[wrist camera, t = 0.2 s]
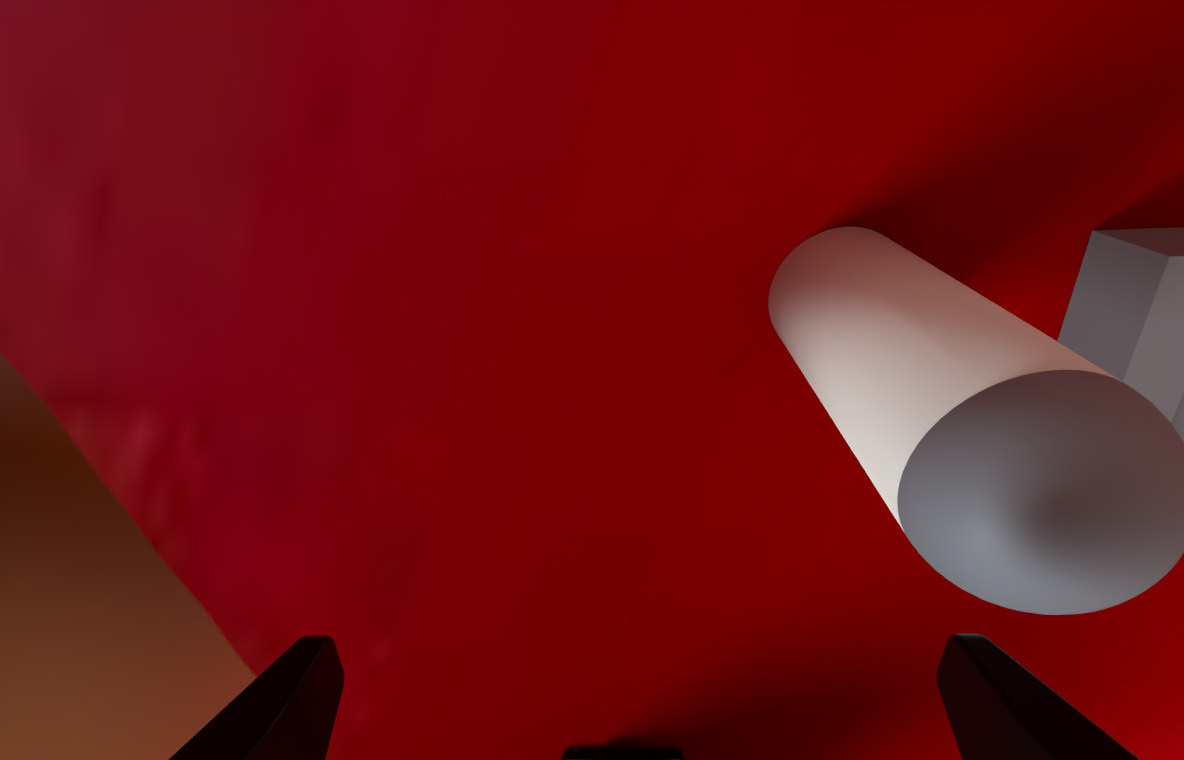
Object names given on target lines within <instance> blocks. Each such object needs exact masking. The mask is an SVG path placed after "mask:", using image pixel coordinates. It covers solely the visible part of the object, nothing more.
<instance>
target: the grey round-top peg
mask: <svg viewBox="0 0 1184 760" xmlns="http://www.w3.org/2000/svg"><path fill="white" fill-rule="evenodd" d="M769 314H770V318H771V322H772V324H773V326H774V328H775V330H776V332H777V333H778V335H779V337H780V338H781V340H782V341H783V343H784V344H785V346H786V348H787V349H788V351H789V352H790V354H791V355H792V357H793V359H794V360H795V362H796V363H797V365H798V366H799V368H800V370H801V371H802V373H803V374H804V376H805V377H806V379H807V380H808V382H809V384H810V385H811V387H812V388H813V390H814V391H815V393H816V395H817V396H818V398H819V399H820V401H821V402H822V404H823V406H824V407H825V409H826V410H827V412H828V413H829V415H830V417H831V418H832V420H833V421H834V423H835V424H836V426H837V428H838V429H839V431H840V432H841V434H842V435H843V437H844V439H845V440H846V442H847V443H848V445H849V446H850V448H851V449H852V451H853V453H854V454H855V456H856V457H857V459H858V460H859V462H860V464H861V465H862V467H863V468H864V470H865V471H866V473H867V475H868V476H869V478H870V479H871V481H872V482H873V484H874V486H875V487H876V489H877V490H878V492H879V493H880V495H881V497H882V498H883V500H884V501H885V503H886V504H887V506H888V507H889V509H890V511H891V512H892V514H893V515H894V517H895V518H896V520H897V522H898V523H899V525H900V526H901V528H902V529H903V531H904V533H905V534H906V536H907V537H908V539H909V540H910V542H911V543H912V545H913V546H914V547H915V549H916V550H917V551H918V553H919V554H920V555H921V556H922V557H923V558H924V559H925V560H926V561H927V562H928V563H929V564H930V565H931V566H932V567H933V568H934V569H935V570H936V571H937V572H939V573H940V574H941V575H943V576H944V577H945V578H946V579H948V580H949V581H951V582H952V583H954V584H955V585H956V586H958V587H960V588H961V589H963V590H965V591H967V592H969V593H971V594H973V595H975V596H977V597H979V598H981V599H983V600H986V601H988V602H991V603H993V604H996V605H1000V606H1003V607H1006V608H1009V609H1013V610H1017V611H1023V612H1030V613H1037V614H1045V615H1065V614H1081V613H1087V612H1093V611H1097V610H1102V609H1105V608H1108V607H1112V606H1115V605H1117V604H1120V603H1122V602H1125V601H1127V600H1129V599H1131V598H1133V597H1135V596H1137V595H1139V594H1140V593H1142V592H1144V591H1145V590H1147V589H1148V588H1150V587H1151V586H1153V585H1154V584H1155V583H1157V582H1158V581H1159V580H1160V579H1161V578H1162V577H1164V576H1165V575H1166V574H1167V573H1168V572H1169V571H1170V570H1171V569H1172V568H1173V566H1174V565H1175V564H1176V563H1177V561H1178V560H1179V559H1180V557H1181V555H1182V554H1183V552H1184V442H1183V441H1182V439H1181V437H1180V436H1179V434H1178V433H1177V431H1176V430H1175V428H1174V427H1173V425H1172V423H1171V422H1170V421H1169V420H1168V419H1167V418H1166V417H1165V416H1164V415H1163V414H1162V413H1161V412H1160V411H1159V410H1158V409H1157V408H1156V407H1155V405H1154V404H1153V403H1152V402H1151V401H1149V400H1148V399H1147V398H1145V397H1144V396H1142V395H1141V394H1140V393H1138V392H1137V391H1136V390H1134V389H1133V388H1131V387H1130V386H1128V385H1127V384H1126V383H1124V382H1122V381H1121V380H1119V379H1117V378H1116V377H1114V376H1112V375H1111V374H1109V373H1108V372H1106V371H1104V370H1103V369H1101V368H1099V367H1098V366H1096V365H1094V364H1093V363H1091V362H1090V361H1088V360H1086V359H1085V358H1083V357H1081V356H1080V355H1078V354H1077V353H1075V352H1073V351H1072V350H1070V349H1068V348H1067V347H1065V346H1063V345H1062V344H1060V343H1059V342H1057V341H1055V340H1054V339H1052V338H1050V337H1049V336H1047V335H1045V334H1044V333H1042V332H1041V331H1039V330H1037V329H1036V328H1034V327H1032V326H1031V325H1029V324H1027V323H1026V322H1024V321H1023V320H1021V319H1019V318H1018V317H1016V316H1014V315H1013V314H1011V313H1010V312H1008V311H1006V310H1005V309H1003V308H1001V307H1000V306H998V305H996V304H995V303H993V302H992V301H990V300H988V299H987V298H985V297H983V296H982V295H980V294H978V293H977V292H975V291H974V290H972V289H970V288H969V287H967V286H965V285H964V284H962V283H961V282H959V281H957V280H956V279H954V278H952V277H951V276H949V275H947V274H946V273H944V272H943V271H941V270H939V269H938V268H936V267H934V266H933V265H931V264H929V263H928V262H926V261H925V260H923V259H921V258H920V257H918V256H916V255H915V254H913V253H911V252H910V251H908V250H907V249H905V248H903V247H902V246H900V245H898V244H897V243H895V242H894V241H892V240H890V239H889V238H887V237H885V236H884V235H882V234H880V233H878V232H876V231H873V230H870V229H867V228H861V227H839V228H834V229H830V230H826V231H824V232H821V233H818V234H816V235H814V236H812V237H810V238H809V239H807V240H805V241H804V242H802V243H801V244H800V245H799V246H797V247H796V248H795V249H794V250H793V251H792V252H791V253H790V254H789V255H788V256H787V257H786V258H785V260H784V261H783V262H782V264H781V265H780V267H779V268H778V270H777V272H776V274H775V276H774V279H773V281H772V284H771V288H770V293H769Z"/></svg>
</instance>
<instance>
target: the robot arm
mask: <svg viewBox="0 0 1184 760" xmlns="http://www.w3.org/2000/svg"><path fill="white" fill-rule="evenodd" d="M937 684H938V688H939V691H940V694H941V697H942V700H943V703H944V706H945V709H946V712H947V715H948V718H949V721H950V724H951V727H952V730H953V733H954V736H955V739H956V742H957V745H958V748H959V751H960V754H961V757H962V760H1140V759H1138V758H1137V757H1136V756H1135V755H1133V754H1132V753H1131V752H1130V751H1128V750H1127V749H1126V748H1124V747H1123V746H1122V745H1121V744H1119V743H1118V742H1117V741H1116V740H1114V739H1113V738H1112V737H1111V736H1109V735H1108V734H1107V733H1106V732H1104V731H1103V730H1102V729H1101V728H1099V727H1098V726H1097V725H1096V724H1094V723H1093V722H1092V721H1091V720H1089V719H1088V718H1087V717H1086V716H1084V715H1083V714H1082V713H1081V712H1079V711H1078V710H1077V709H1076V708H1074V707H1073V706H1072V705H1071V704H1069V703H1068V702H1067V701H1066V700H1064V699H1063V698H1062V697H1061V696H1059V695H1058V694H1057V693H1056V692H1054V691H1053V690H1052V689H1051V688H1049V687H1048V686H1047V685H1046V684H1044V683H1043V682H1042V681H1041V680H1039V679H1038V678H1037V677H1036V676H1034V675H1033V674H1032V673H1031V672H1029V671H1028V670H1027V669H1025V668H1024V667H1023V666H1022V665H1020V664H1019V663H1018V662H1017V661H1015V660H1014V659H1013V658H1012V657H1010V656H1009V655H1008V654H1007V653H1005V652H1004V651H1003V650H1002V649H1000V648H999V647H998V646H997V645H995V644H994V643H993V642H992V641H990V640H989V639H988V638H986V637H984V636H983V635H980V634H953V635H952V636H950V637H949V638H948V640H947V643H946V646H945V649H944V652H943V655H942V658H941V660H940V663H939V666H938V669H937ZM343 686H344V670H343V667H342V664H341V661H340V658H339V655H338V652H337V648H336V645H335V642H334V640H333V639H332V638H331V637H330V636H327V635H309V636H304V637H302V638H300V639H299V640H297V641H296V642H295V643H294V644H293V645H292V646H291V647H290V648H289V649H287V650H286V651H285V652H284V653H283V654H282V655H281V656H280V657H279V658H278V659H277V660H276V661H274V662H273V663H272V664H271V665H270V666H269V667H268V668H267V669H266V670H265V671H264V672H263V673H261V674H260V675H259V676H258V677H257V678H256V679H255V680H254V681H253V682H252V683H251V684H250V685H249V686H247V687H246V688H245V689H244V690H243V691H242V692H241V693H240V694H239V695H238V696H237V697H236V698H234V699H233V700H232V701H231V702H230V703H229V704H228V705H227V706H226V707H225V708H224V709H222V710H221V711H220V712H219V713H218V714H217V715H216V716H215V717H214V718H213V719H212V720H211V721H209V722H208V724H206V725H205V726H204V727H203V728H202V729H201V730H200V731H199V732H198V733H197V734H195V735H194V736H193V737H192V738H191V739H190V740H189V741H188V742H187V743H186V744H185V745H183V746H182V747H181V748H180V749H179V750H178V751H177V752H176V753H175V754H174V755H173V756H172V757H170V758H169V759H168V760H325V757H326V753H327V750H328V746H329V742H330V738H331V734H332V730H333V726H334V722H335V718H336V714H337V710H338V706H339V703H340V699H341V695H342V691H343ZM561 760H684V755H683V754H682V753H681V752H678V751H575V752H565V753H563V754H562V755H561Z"/></svg>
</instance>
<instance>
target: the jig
mask: <svg viewBox="0 0 1184 760" xmlns="http://www.w3.org/2000/svg"><path fill="white" fill-rule="evenodd" d="M1057 342H1059V343H1060V344H1062V345H1063V346H1065V347H1067V348H1068V349H1070V350H1072V351H1073V352H1075V353H1077V354H1078V355H1080V356H1081V357H1083V358H1085V359H1086V360H1088V361H1090V362H1091V363H1093V364H1094V365H1096V366H1098V367H1099V368H1101V369H1103V370H1104V371H1106V372H1108V373H1109V374H1111V375H1112V376H1114V377H1116V378H1117V379H1119V380H1121V381H1122V382H1124V383H1126V384H1127V385H1128V386H1130V387H1131V388H1133V389H1134V390H1136V391H1137V392H1138V393H1140V394H1141V395H1142V396H1144V397H1145V398H1147V399H1148V400H1149V401H1151V402H1152V403H1153V404H1154V405H1155V407H1156V408H1157V409H1158V410H1159V411H1160V412H1161V413H1162V414H1163V415H1164V416H1165V417H1166V418H1167V419H1168V420H1169V421H1170V422H1171V423H1172V425H1173V427H1174V428H1175V430H1176V431H1177V433H1178V434H1179V436H1180V437H1181V439H1182V441H1183V442H1184V227H1175V228H1145V229H1116V230H1092V233H1091V236H1090V239H1089V242H1088V245H1087V249H1086V252H1085V255H1084V258H1083V261H1082V265H1081V268H1080V271H1079V274H1078V277H1077V281H1076V284H1075V287H1074V290H1073V293H1072V296H1071V300H1070V303H1069V306H1068V309H1067V312H1066V316H1065V319H1064V322H1063V325H1062V328H1061V332H1060V335H1059V338H1058V341H1057ZM1183 553H1184V552H1183Z"/></svg>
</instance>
